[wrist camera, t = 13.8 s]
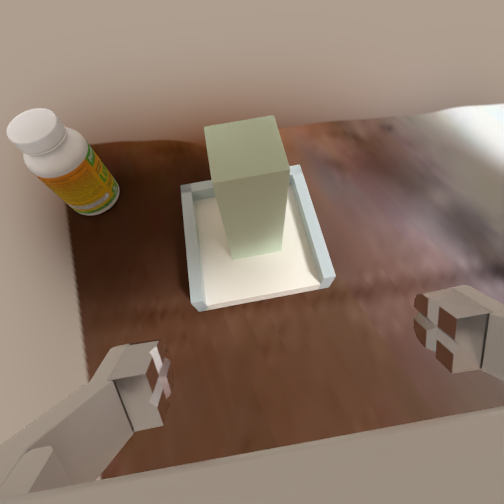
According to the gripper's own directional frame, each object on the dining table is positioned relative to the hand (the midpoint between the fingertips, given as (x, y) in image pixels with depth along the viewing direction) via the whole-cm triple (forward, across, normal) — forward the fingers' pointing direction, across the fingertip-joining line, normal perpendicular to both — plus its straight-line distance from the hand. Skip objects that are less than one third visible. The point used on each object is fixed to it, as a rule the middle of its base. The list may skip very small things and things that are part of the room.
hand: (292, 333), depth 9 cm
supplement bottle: (+26, +16, -4) cm, 31 cm away
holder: (+19, 0, +3) cm, 20 cm away
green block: (+18, 0, +2) cm, 18 cm away
